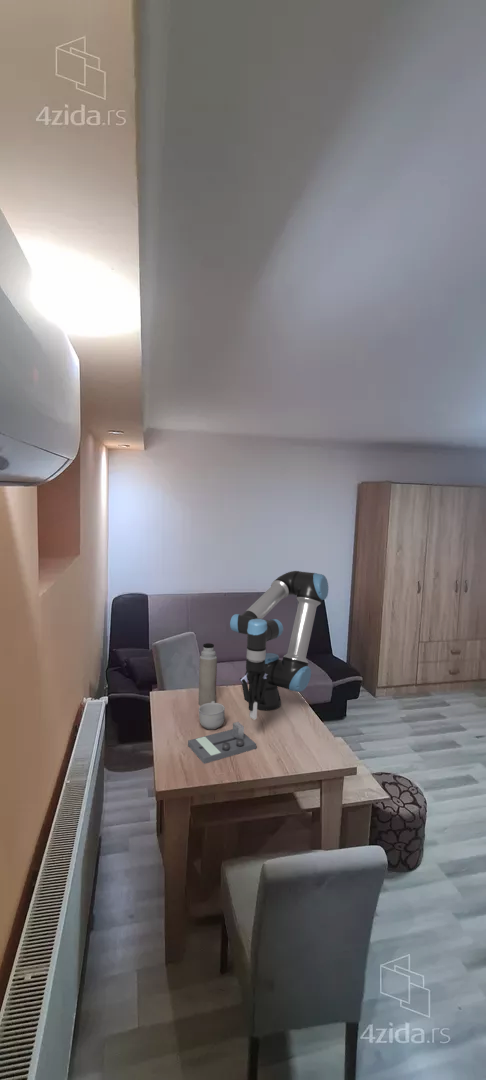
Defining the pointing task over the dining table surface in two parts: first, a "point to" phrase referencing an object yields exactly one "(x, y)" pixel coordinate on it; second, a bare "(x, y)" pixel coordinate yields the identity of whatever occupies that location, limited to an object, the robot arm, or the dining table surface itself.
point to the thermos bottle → (207, 674)
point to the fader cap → (238, 730)
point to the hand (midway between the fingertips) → (253, 717)
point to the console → (220, 746)
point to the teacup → (211, 715)
